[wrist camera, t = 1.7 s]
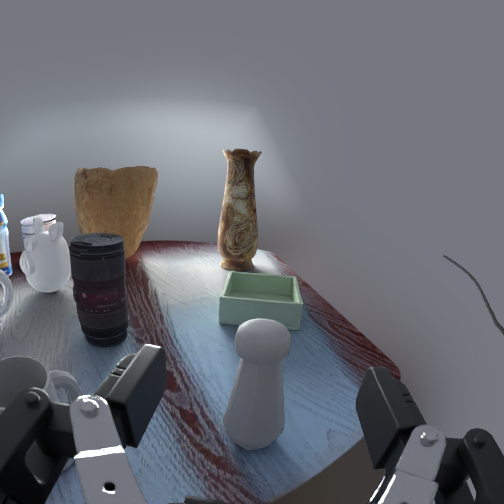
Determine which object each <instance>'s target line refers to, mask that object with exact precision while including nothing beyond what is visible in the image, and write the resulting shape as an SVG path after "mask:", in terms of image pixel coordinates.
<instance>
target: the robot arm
mask: <svg viewBox="0 0 504 504" xmlns="http://www.w3.org/2000/svg"><path fill="white" fill-rule="evenodd" d="M444 257H445V258H446V259H448V260H449V261H451V262H452V263H454V264H455V265H457V266H458V267H459V268H461V269H462V270H463V271H464V272H465V273H467V274H468V275H469V276H470V277H471V279H472V280H473V281H474V282H475V283H476V285H477V287H478V289H479V290H480V292H481V294H482V297H483V299H484V301H485V303H486V306H487V308H488V310H489V312H490V314H491V316H492V319H493V321H494V323H495V325H496V326H497V327H498V328H499V330H500V331H501V332H502V333H503V335H504V329H503V327H502V326H501V325H500V324H499V323H498V321H497V320H496V318H495V316H494V313H493V311H492V309H491V307H490V305H489V303H488V301H487V299H486V297H485V295H484V293H483V291H482V289H481V287H480V286H479V284H478V282H477V281H476V280H475V278H474V277H473V276H472V275H471V274H470V273H469V272H468V271H466V270H465V269H464V268H463V267H461V266H460V265H459V264H457V263H456V262H454V261H453V260H451V259H449V258H448V257H447V256H445V255H444ZM166 384H167V372H166V358H165V349H164V347H160V346H155V345H150V344H144V346H143V347H142V348H141V350H140V351H139V352H138V354H134V353H131V354H129V355H127V356H125V357H124V358H122V359H121V360H120V361H119V363H118V364H117V365H116V368H114V369H113V370H112V371H111V374H109V375H108V376H107V378H106V379H105V380H104V382H103V383H102V384H101V385H100V387H99V388H98V389H97V390H96V392H95V393H94V394H93V395H85V396H81V397H78V398H77V399H75V400H74V401H73V402H72V403H71V404H66V403H58V402H51V400H50V397H49V395H48V393H47V392H46V391H44V390H43V389H40V388H28V389H25V390H23V391H21V392H20V393H19V394H18V395H17V396H16V397H15V398H14V399H13V401H12V402H11V403H10V404H9V405H8V406H7V407H6V408H5V409H4V411H3V412H2V413H1V414H0V504H45V502H46V500H47V498H48V496H49V494H50V492H51V491H52V489H53V487H54V485H55V483H56V481H57V479H58V478H59V476H60V474H61V472H62V470H63V469H64V467H65V465H66V463H67V461H68V460H69V458H72V459H75V463H76V468H77V472H78V476H79V480H80V484H81V487H82V491H83V494H84V498H85V501H86V504H147V501H146V499H145V497H144V495H143V493H142V491H141V489H140V487H139V485H138V482H137V480H136V478H135V475H134V473H133V471H132V468H131V466H130V464H129V461H128V459H127V456H126V453H125V451H124V450H125V448H126V446H127V445H128V446H131V447H135V448H137V447H138V445H139V443H140V441H141V439H142V437H143V434H144V432H145V430H146V428H147V426H148V424H149V422H150V420H151V418H152V416H153V414H154V412H155V410H156V408H157V406H158V404H159V402H160V400H161V398H162V396H163V394H164V392H165V389H166ZM356 411H357V414H358V417H359V420H360V424H361V427H362V430H363V433H364V437H365V440H366V443H367V447H368V450H369V454H370V457H371V460H372V464H373V467H374V469H380V468H385V470H386V473H385V475H384V476H383V478H382V479H381V481H380V483H379V485H378V486H377V488H376V489H375V491H374V493H373V494H372V496H371V498H370V499H369V501H368V502H367V504H432V502H433V500H435V503H436V504H504V456H503V454H502V452H501V450H500V448H499V447H498V445H497V443H496V442H495V440H494V438H493V437H492V435H491V434H490V433H489V432H487V431H486V430H483V429H479V428H475V429H471V430H469V431H468V432H467V433H466V435H465V436H464V438H463V439H457V438H456V439H455V438H446V436H445V434H444V433H443V431H442V430H440V429H439V428H437V427H435V426H432V425H427V424H426V422H425V420H424V418H423V416H422V415H421V413H420V411H419V409H418V407H417V406H416V404H415V402H414V401H413V398H412V396H410V393H409V391H408V389H407V388H406V386H405V385H404V384H402V382H400V381H399V380H398V379H397V378H396V379H393V377H392V375H391V373H390V372H389V370H388V368H387V367H369V368H368V369H367V370H366V372H365V375H364V378H363V381H362V384H361V387H360V389H359V392H358V395H357V398H356ZM32 444H33V445H32ZM30 447H31V448H30ZM28 450H29V451H28ZM26 453H27V454H26ZM469 478H471V481H472V483H473V485H474V488H475V490H476V499H475V501H474V499H473V497H472V494H471V492H470V489H469V487H468V484H467V482H466V481H467V480H468V479H469ZM169 504H229V503H226V502H223V501H218V500H211V499H205V498H200V497H194V496H189V495H186V498H185V501H184V503H169Z"/></svg>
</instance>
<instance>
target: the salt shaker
mask: <svg viewBox="0 0 504 504" xmlns="http://www.w3.org/2000/svg"><path fill="white" fill-rule="evenodd" d="M290 345H291V333H290V332H289V331H288V329H287V328H286V327H285V326H284V325H283V324H281V323H279V322H277V321H275V320H270V319H261V318H256V319H252V320H248V321H246V322H245V323H243V324H241V325H240V326H239V327H238V330H237V332H236V336H235V349H236V351H237V354H238V356H239V357H240V358H241V359H240V362H239V366H238V369H237V373H236V376H235V380H234V384H233V387H232V391H231V394H230V398H229V401H228V405H227V408H226V411H225V414H224V417H223V424H224V427H225V430H226V433H227V435H228V436H229V437H230V439H231V440H232V442H233V443H235V444H237V445H239V446H241V447H242V448H244V449H246V450H248V451H250V450H256V449H261V448H266V447H268V446H269V445H270V444H272V443H273V442H274V441H275V440H276V439H277V438H278V437H279V435H280V434H281V433H282V431H283V430H284V424H285V411H284V394H283V378H282V363H281V362H282V361H283V360H284V359H285V358H286V357H287V355H288V354H289V350H290Z"/></svg>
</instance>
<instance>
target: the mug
mask: <svg viewBox="0 0 504 504" xmlns="http://www.w3.org/2000/svg"><path fill="white" fill-rule="evenodd" d="M0 283H1V284H2V286H3V289H4V296H3V300H2V302H1V303H0V318H1V317H2V316H3V315H5V314H6V312H7V311H8V310H9V308H10V306H11V304H12V300H13V287H12V283H11V281H10V279H9V277H8V276H7V274H6V273H5V272H3V271H2V270H0ZM1 333H2V323H1V319H0V334H1Z"/></svg>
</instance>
